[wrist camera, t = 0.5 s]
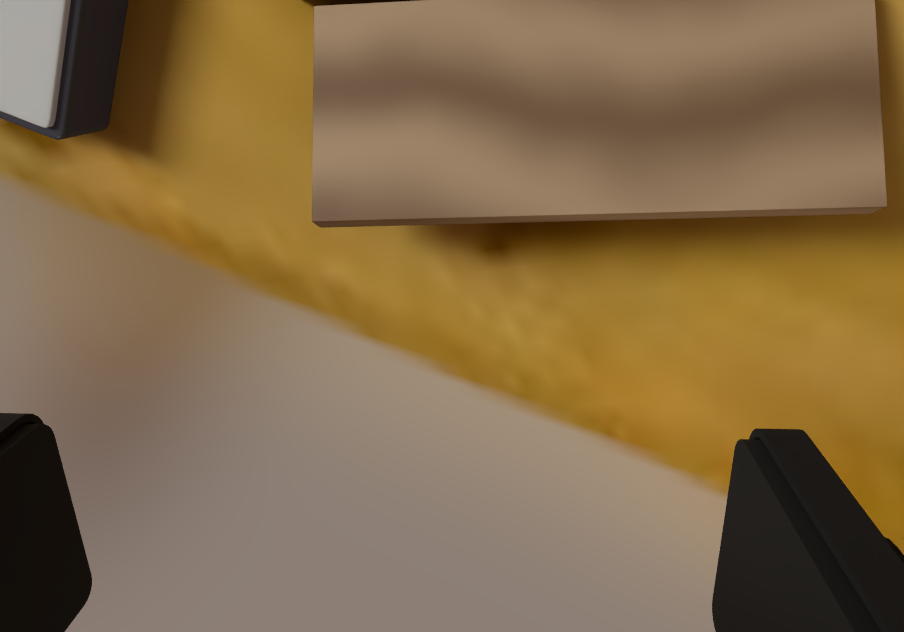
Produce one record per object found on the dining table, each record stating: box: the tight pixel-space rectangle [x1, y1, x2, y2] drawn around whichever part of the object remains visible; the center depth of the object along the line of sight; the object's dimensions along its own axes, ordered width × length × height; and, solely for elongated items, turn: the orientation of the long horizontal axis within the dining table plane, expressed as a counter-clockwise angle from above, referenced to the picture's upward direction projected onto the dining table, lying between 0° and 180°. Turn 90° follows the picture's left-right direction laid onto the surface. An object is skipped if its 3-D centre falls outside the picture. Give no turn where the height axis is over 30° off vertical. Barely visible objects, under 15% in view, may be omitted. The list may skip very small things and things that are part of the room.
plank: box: [312, 0, 887, 227], centre depth 28 cm, size 9×22×1 cm, turn 93°
